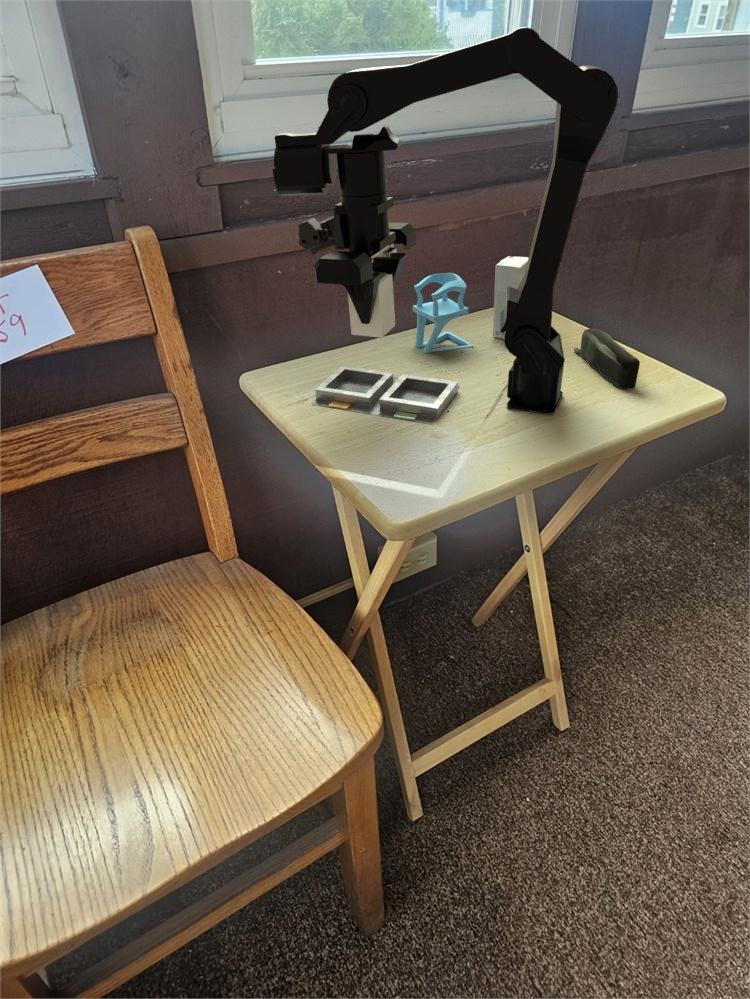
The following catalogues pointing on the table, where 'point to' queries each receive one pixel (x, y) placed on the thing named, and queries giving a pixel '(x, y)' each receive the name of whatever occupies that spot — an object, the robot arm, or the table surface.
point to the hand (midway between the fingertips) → (373, 317)
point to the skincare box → (506, 285)
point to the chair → (440, 311)
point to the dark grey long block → (609, 358)
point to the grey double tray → (386, 394)
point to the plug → (376, 311)
